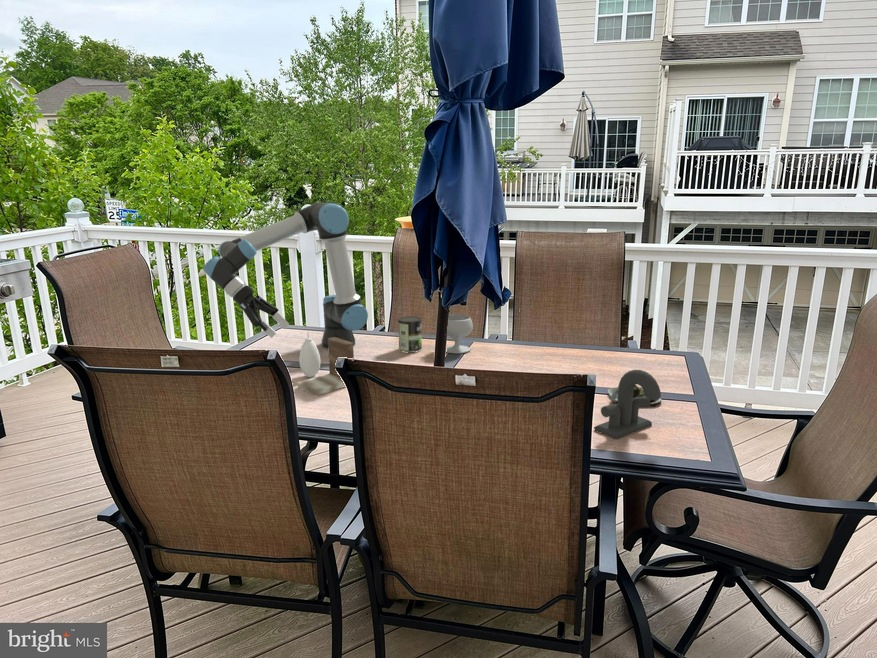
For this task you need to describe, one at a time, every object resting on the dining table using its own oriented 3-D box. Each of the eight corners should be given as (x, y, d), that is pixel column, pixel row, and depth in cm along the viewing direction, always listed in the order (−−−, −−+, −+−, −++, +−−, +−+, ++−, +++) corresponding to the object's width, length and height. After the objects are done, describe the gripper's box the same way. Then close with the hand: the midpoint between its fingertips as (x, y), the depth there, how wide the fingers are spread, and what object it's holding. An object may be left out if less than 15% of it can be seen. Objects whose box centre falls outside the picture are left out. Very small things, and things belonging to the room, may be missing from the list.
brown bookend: (336, 376, 238) (334, 336, 234) (354, 384, 230) (353, 343, 226) (297, 387, 227) (294, 345, 223) (315, 395, 219) (313, 352, 214)
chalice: (456, 344, 281) (456, 311, 277) (479, 350, 271) (479, 317, 267) (434, 350, 271) (434, 317, 267) (457, 357, 262) (457, 322, 258)
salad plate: (598, 388, 225) (599, 376, 224) (647, 388, 225) (648, 376, 224) (612, 408, 206) (613, 395, 205) (665, 408, 206) (667, 395, 205)
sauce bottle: (324, 377, 237) (321, 332, 232) (304, 381, 233) (301, 335, 229) (317, 372, 244) (314, 328, 239) (297, 375, 240) (294, 330, 235)
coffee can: (423, 347, 277) (423, 316, 273) (419, 353, 267) (419, 322, 263) (401, 346, 278) (400, 315, 275) (396, 352, 268) (395, 321, 265)
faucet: (635, 449, 176) (641, 383, 171) (592, 431, 188) (596, 368, 183) (673, 433, 186) (679, 370, 181) (630, 416, 199) (634, 357, 193)
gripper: (246, 291, 246) (285, 328, 248) (218, 305, 222) (261, 346, 224) (258, 278, 244) (297, 316, 246) (231, 291, 220) (274, 332, 222)
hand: (280, 330), depth 235 cm, fingers open, 13 cm apart
